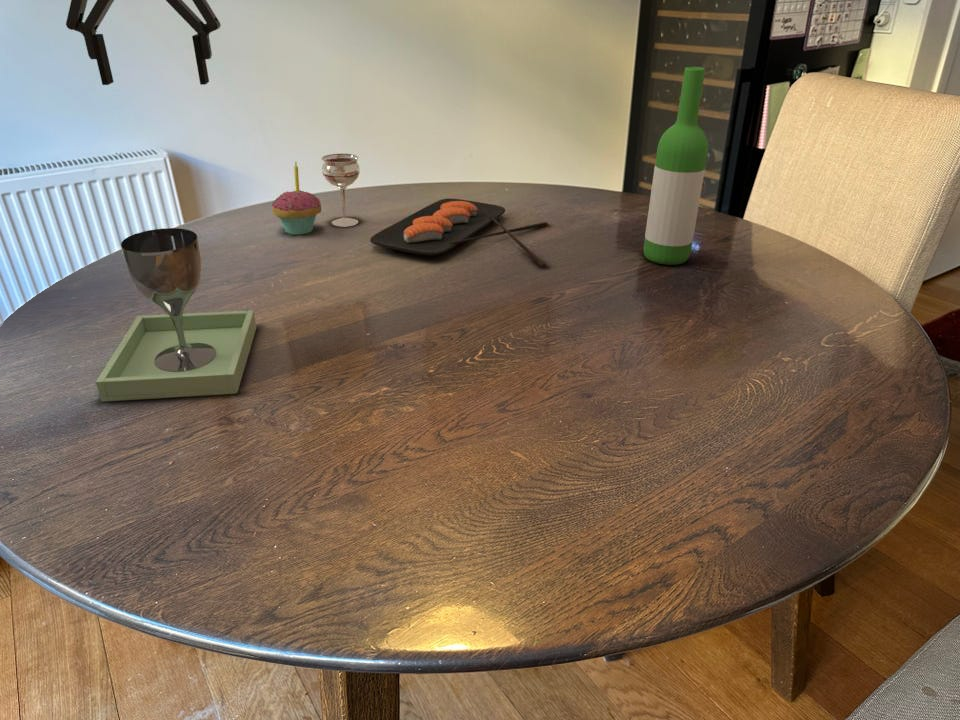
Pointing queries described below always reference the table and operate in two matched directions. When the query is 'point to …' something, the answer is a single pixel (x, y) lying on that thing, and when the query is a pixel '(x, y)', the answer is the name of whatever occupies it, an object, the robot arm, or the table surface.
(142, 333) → the tray
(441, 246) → the sushi plate
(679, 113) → the wine bottle
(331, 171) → the wineglass
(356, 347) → the table surface
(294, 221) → the cupcake
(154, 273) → the wine glass
